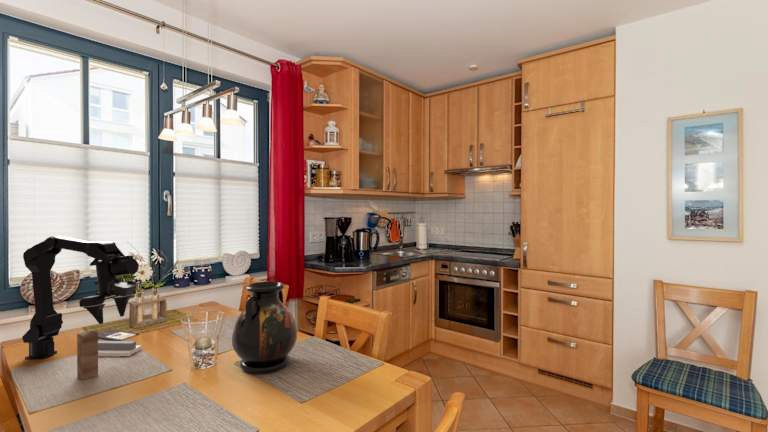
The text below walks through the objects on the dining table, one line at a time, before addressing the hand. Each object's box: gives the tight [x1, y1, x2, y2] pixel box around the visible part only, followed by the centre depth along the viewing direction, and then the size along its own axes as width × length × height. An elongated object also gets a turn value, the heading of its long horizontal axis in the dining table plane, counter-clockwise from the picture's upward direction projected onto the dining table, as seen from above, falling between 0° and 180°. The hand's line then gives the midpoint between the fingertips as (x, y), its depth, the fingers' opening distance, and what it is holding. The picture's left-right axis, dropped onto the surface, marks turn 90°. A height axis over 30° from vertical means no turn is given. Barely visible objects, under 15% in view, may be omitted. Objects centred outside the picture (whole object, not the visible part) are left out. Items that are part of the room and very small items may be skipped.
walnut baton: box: [76, 329, 99, 381], centre depth 120 cm, size 4×4×14 cm
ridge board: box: [98, 340, 142, 357], centre depth 139 cm, size 18×7×4 cm, turn 89°
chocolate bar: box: [97, 328, 140, 341], centre depth 158 cm, size 9×1×18 cm
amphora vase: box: [231, 281, 298, 375], centre depth 129 cm, size 22×22×28 cm
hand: (112, 319), depth 133 cm, fingers open, 9 cm apart
